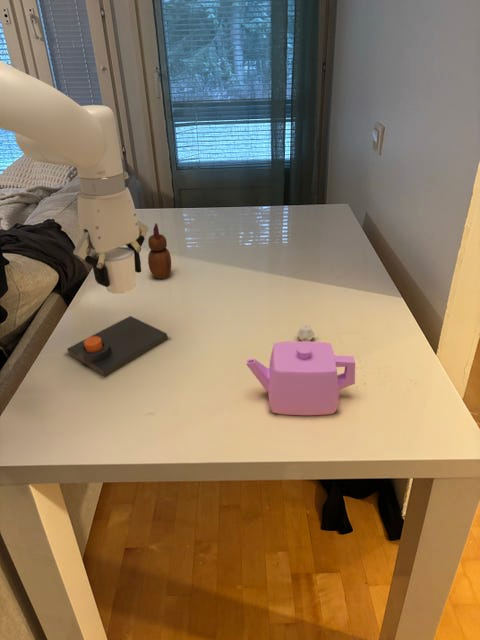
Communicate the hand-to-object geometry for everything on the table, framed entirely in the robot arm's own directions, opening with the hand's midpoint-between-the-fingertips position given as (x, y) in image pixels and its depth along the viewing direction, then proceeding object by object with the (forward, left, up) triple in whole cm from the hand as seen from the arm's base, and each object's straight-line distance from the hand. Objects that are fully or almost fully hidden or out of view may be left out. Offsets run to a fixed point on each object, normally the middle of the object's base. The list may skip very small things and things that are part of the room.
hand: (119, 276), depth 89 cm
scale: (-3, 0, -15) cm, 15 cm away
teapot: (+7, -37, -15) cm, 41 cm away
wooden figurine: (+25, +18, -15) cm, 35 cm away
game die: (+22, -29, -15) cm, 39 cm away
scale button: (-8, 0, -12) cm, 15 cm away
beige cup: (0, 0, -2) cm, 2 cm away
